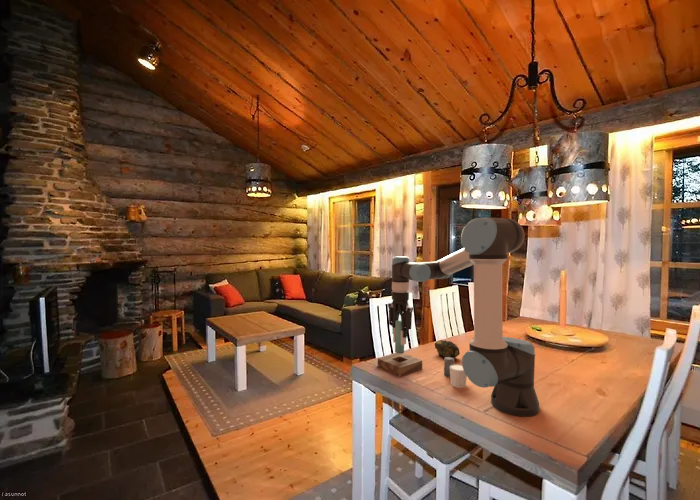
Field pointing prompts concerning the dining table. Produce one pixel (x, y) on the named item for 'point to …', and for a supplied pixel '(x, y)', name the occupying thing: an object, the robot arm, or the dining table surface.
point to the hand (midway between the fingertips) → (399, 342)
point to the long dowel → (398, 337)
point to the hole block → (400, 363)
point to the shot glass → (457, 376)
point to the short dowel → (448, 365)
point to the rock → (447, 349)
